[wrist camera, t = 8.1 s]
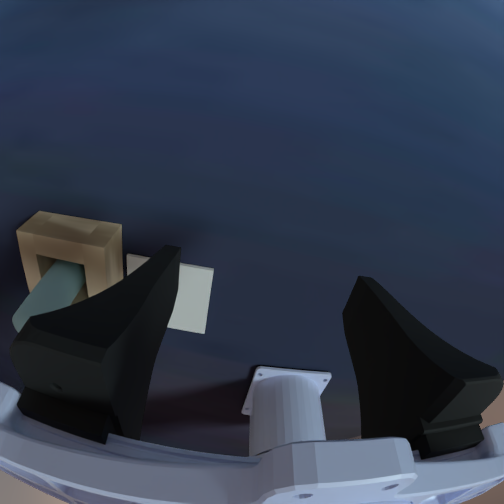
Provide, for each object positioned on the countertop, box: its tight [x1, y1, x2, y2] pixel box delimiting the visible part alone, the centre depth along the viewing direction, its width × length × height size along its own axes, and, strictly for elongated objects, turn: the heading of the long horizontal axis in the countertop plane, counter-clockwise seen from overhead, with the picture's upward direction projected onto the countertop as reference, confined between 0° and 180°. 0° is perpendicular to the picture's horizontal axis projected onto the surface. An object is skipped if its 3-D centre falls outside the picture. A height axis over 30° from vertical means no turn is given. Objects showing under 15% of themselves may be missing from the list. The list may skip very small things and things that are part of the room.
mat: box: [127, 254, 214, 334], centre depth 26 cm, size 7×7×1 cm
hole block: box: [16, 211, 123, 305], centre depth 25 cm, size 16×8×4 cm, turn 169°
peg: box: [12, 259, 86, 333], centre depth 21 cm, size 3×3×9 cm
